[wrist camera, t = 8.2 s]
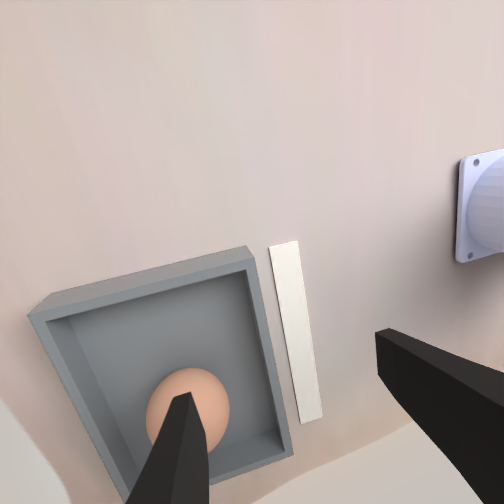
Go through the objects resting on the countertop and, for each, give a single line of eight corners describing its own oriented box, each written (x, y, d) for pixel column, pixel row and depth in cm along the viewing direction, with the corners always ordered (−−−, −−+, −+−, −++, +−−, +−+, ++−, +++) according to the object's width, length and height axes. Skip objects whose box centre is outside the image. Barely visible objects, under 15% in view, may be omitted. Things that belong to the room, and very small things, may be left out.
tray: (245, 245, 18) (254, 256, 16) (283, 424, 23) (293, 454, 21) (51, 293, 17) (27, 314, 14) (136, 475, 22) (130, 514, 19)
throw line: (296, 240, 19) (297, 240, 19) (322, 415, 24) (322, 416, 24) (268, 247, 19) (269, 247, 19) (300, 423, 24) (301, 424, 24)
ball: (217, 343, 19) (227, 399, 14) (229, 399, 21) (242, 466, 16) (142, 362, 18) (127, 429, 14) (161, 419, 20) (153, 497, 15)
